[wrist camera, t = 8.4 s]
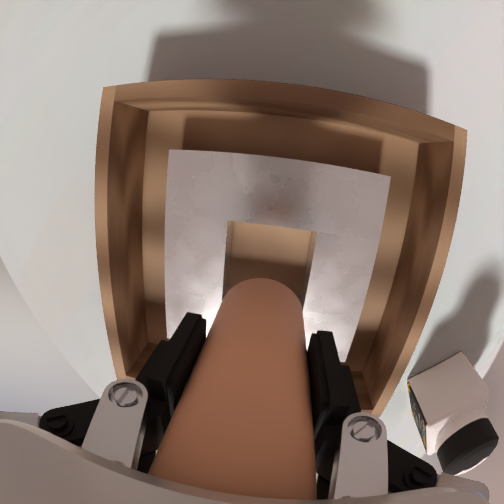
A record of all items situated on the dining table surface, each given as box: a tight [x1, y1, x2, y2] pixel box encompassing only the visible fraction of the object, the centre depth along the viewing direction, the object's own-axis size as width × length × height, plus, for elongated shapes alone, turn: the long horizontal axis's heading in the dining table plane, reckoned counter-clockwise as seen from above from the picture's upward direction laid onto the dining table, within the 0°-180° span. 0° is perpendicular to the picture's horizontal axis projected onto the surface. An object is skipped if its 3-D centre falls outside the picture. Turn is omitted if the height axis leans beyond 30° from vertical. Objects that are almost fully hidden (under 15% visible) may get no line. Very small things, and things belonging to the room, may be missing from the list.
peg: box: [148, 278, 317, 500], centre depth 9 cm, size 4×4×10 cm
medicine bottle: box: [407, 352, 499, 476], centre depth 19 cm, size 7×7×12 cm
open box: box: [95, 79, 467, 417], centre depth 19 cm, size 22×22×6 cm
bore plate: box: [165, 149, 391, 362], centre depth 20 cm, size 14×14×2 cm
